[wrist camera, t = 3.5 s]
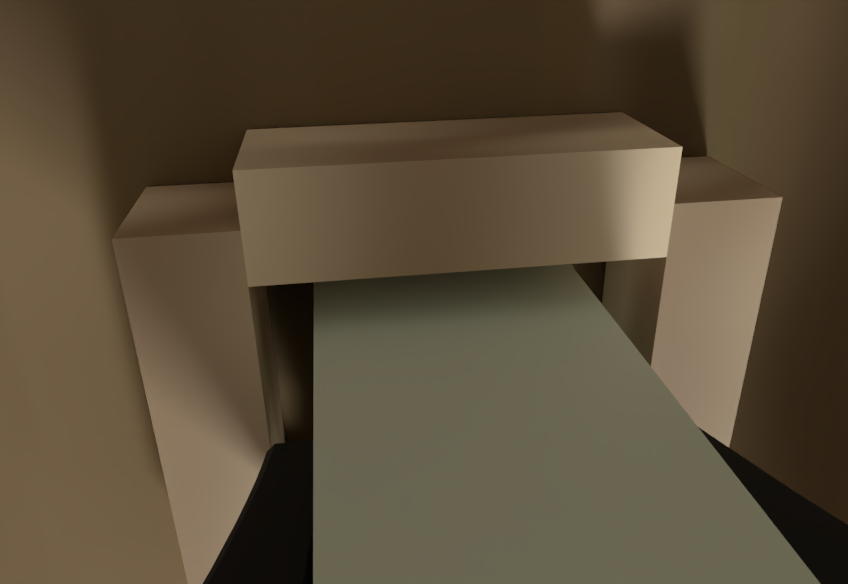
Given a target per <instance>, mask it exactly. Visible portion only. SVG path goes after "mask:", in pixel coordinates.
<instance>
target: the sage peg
mask: <svg viewBox="0 0 848 584" xmlns="http://www.w3.org/2000/svg"><path fill="white" fill-rule="evenodd" d="M313 584H820V582H819V581H818V580H817V579H816V577H815V576H814V575H813V574H812V572H811V571H810V570H809V568H808V567H807V566H806V565H805V563H804V562H803V561H802V559H801V558H800V557H799V556H798V554H797V553H796V552H795V550H794V549H793V548H792V547H791V545H790V544H789V543H788V542H787V540H786V539H785V538H784V536H783V535H782V534H781V533H780V531H779V530H778V529H777V527H776V526H775V525H774V524H773V522H772V521H771V520H770V519H769V517H768V516H767V515H766V513H765V512H764V511H763V510H762V508H761V507H760V506H759V504H758V503H757V502H756V501H755V499H754V498H753V497H752V495H751V494H750V493H749V492H748V490H747V489H746V488H745V487H744V485H743V484H742V483H741V481H740V480H739V479H738V478H737V476H736V475H735V474H734V472H733V471H732V470H731V469H730V467H729V466H728V465H727V464H726V462H725V461H724V460H723V458H722V457H721V456H720V455H719V453H718V452H717V451H716V449H715V448H714V447H713V446H712V444H711V443H710V442H709V440H708V439H707V438H706V437H705V435H704V434H703V433H702V432H701V430H700V429H699V428H698V426H697V425H696V424H695V423H694V421H693V420H692V419H691V417H690V416H689V415H688V414H687V412H686V411H685V410H684V409H683V407H682V406H681V405H680V403H679V402H678V401H677V400H676V398H675V397H674V396H673V394H672V393H671V392H670V391H669V389H668V388H667V387H666V385H665V384H664V383H663V382H662V380H661V379H660V378H659V377H658V375H657V374H656V373H655V371H654V370H653V369H652V368H651V366H650V365H649V364H648V362H647V361H646V360H645V359H644V357H643V356H642V355H641V354H640V352H639V351H638V350H637V348H636V347H635V346H634V345H633V343H632V342H631V341H630V339H629V338H628V337H627V336H626V334H625V333H624V332H623V331H622V329H621V328H620V327H619V325H618V324H617V323H616V322H615V320H614V319H613V318H612V316H611V315H610V314H609V313H608V311H607V310H606V309H605V307H604V306H603V305H602V304H601V302H600V301H599V300H598V299H597V297H596V296H595V295H594V293H593V292H592V291H591V290H590V288H589V287H588V286H587V284H586V283H585V282H584V281H583V279H582V278H581V277H580V276H579V274H578V273H577V272H576V270H575V269H574V268H573V267H572V265H571V264H564V265H550V266H535V267H521V268H507V269H493V270H479V271H465V272H451V273H437V274H423V275H409V276H395V277H381V278H367V279H352V280H338V281H324V282H314V371H313Z"/></svg>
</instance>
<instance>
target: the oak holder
mask: <svg viewBox="0 0 848 584" xmlns="http://www.w3.org/2000/svg"><path fill="white" fill-rule="evenodd" d="M682 148H683V147H682V146H680V145H679V144H677V143H675V142H673V141H672V140H670V139H668V138H666V137H665V136H663V135H661V134H659V133H658V132H656V131H654V130H652V129H651V128H649V127H647V126H645V125H644V124H642V123H640V122H638V121H637V120H635V119H633V118H631V117H630V116H628V115H626V114H624V113H623V112H615V113H593V114H572V115H550V116H529V117H508V118H486V119H465V120H443V121H422V122H400V123H379V124H358V125H336V126H315V127H293V128H272V129H251V130H246V133H245V136H244V139H243V142H242V145H241V147H240V150H239V153H238V156H237V159H236V162H235V165H234V167H233V170H232V172H233V179H234V182H228V183H210V184H191V185H173V186H155V187H146V188H145V190H144V191H143V192H142V194H141V195H140V197H139V198H138V200H137V201H136V203H135V204H134V206H133V207H132V209H131V210H130V212H129V213H128V215H127V216H126V218H125V219H124V221H123V222H122V224H121V225H120V227H119V228H118V230H117V231H116V233H115V234H114V236H113V237H112V239H111V240H112V245H113V249H114V254H115V258H116V263H117V267H118V272H119V276H120V281H121V285H122V290H123V294H124V299H125V303H126V308H127V312H128V317H129V321H130V326H131V330H132V335H133V339H134V344H135V348H136V353H137V357H138V362H139V366H140V371H141V375H142V380H143V384H144V389H145V393H146V398H147V402H148V407H149V411H150V416H151V420H152V425H153V429H154V434H155V438H156V443H157V447H158V452H159V456H160V461H161V465H162V470H163V474H164V479H165V483H166V488H167V492H168V497H169V501H170V506H171V510H172V515H173V519H174V524H175V528H176V533H177V537H178V542H179V546H180V551H181V555H182V560H183V564H184V569H185V573H186V577H187V582H188V584H203V582H204V580H205V579H206V577H207V575H208V573H209V572H210V570H211V568H212V566H213V564H214V563H215V561H216V559H217V557H218V555H219V553H220V551H221V550H222V548H223V546H224V544H225V542H226V540H227V538H228V537H229V535H230V533H231V531H232V529H233V527H234V525H235V523H236V521H237V519H238V517H239V515H240V513H241V511H242V509H243V507H244V505H245V503H246V501H247V499H248V497H249V494H250V492H251V490H252V488H253V486H254V483H255V481H256V479H257V476H258V474H259V471H260V469H261V466H262V464H263V461H264V458H265V455H266V452H267V451H268V450H269V449H270V448H271V447H272V446H273V445H274V444H277V443H286V442H285V434H284V426H283V418H282V410H281V402H280V394H279V386H278V378H277V370H276V362H275V354H274V345H273V337H272V329H271V321H270V313H269V305H268V297H267V289H266V286H268V285H282V284H296V283H310V282H324V281H338V280H352V279H367V278H381V277H395V276H409V275H423V274H437V273H451V272H465V271H479V270H493V269H507V268H521V267H535V266H550V265H564V264H578V263H592V262H606V269H605V279H604V288H603V298H602V305H603V306H604V307H605V309H606V310H607V311H608V313H609V314H610V315H611V316H612V318H613V319H614V320H615V322H616V323H617V324H618V325H619V327H620V328H621V329H622V331H623V332H624V333H625V334H626V336H627V337H628V338H629V339H630V341H631V342H632V343H633V345H634V346H635V347H636V348H637V350H638V351H639V352H640V354H641V355H642V356H643V357H644V359H645V360H646V361H647V362H648V364H649V365H650V366H651V368H652V369H653V370H654V371H655V373H656V374H657V375H658V377H659V378H660V379H661V380H662V382H663V383H664V384H665V385H666V387H667V388H668V389H669V391H670V392H671V393H672V394H673V396H674V397H675V398H676V400H677V401H678V402H679V403H680V405H681V406H682V407H683V409H684V410H685V411H686V412H687V414H688V415H689V416H690V417H691V419H692V420H693V421H694V423H695V424H696V425H697V426H698V427H699V428H701V429H702V430H704V431H705V432H706V433H708V434H709V435H711V436H712V437H714V438H715V439H717V440H718V441H720V442H721V443H723V444H724V445H726V446H727V447H729V446H730V441H731V437H732V432H733V427H734V423H735V418H736V413H737V409H738V404H739V399H740V395H741V390H742V385H743V381H744V376H745V371H746V367H747V362H748V357H749V353H750V348H751V343H752V339H753V334H754V329H755V325H756V320H757V315H758V311H759V306H760V301H761V297H762V292H763V287H764V283H765V278H766V273H767V269H768V264H769V259H770V255H771V250H772V245H773V240H774V236H775V231H776V226H777V222H778V217H779V212H780V208H781V203H782V198H783V197H782V196H780V195H778V194H776V193H774V192H773V191H771V190H769V189H767V188H765V187H764V186H762V185H760V184H758V183H756V182H755V181H753V180H751V179H749V178H747V177H746V176H744V175H742V174H740V173H738V172H737V171H735V170H733V169H731V168H729V167H728V166H726V165H724V164H722V163H720V162H719V161H717V160H715V159H713V158H711V157H710V156H703V157H685V158H681V155H682Z"/></svg>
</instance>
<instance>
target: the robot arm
mask: <svg viewBox="0 0 848 584" xmlns="http://www.w3.org/2000/svg"><path fill="white" fill-rule="evenodd" d="M698 428H699V427H698ZM699 429H700V430H701V432H702V433H703V434H704V435H705V437H706V438H707V439H708V440H709V442H710V443H711V444H712V446H713V447H714V448H715V449H716V451H717V452H718V453H719V455H720V456H721V457H722V458H723V460H724V461H725V462H726V464H727V465H728V466H729V467H730V469H731V470H732V471H733V472H734V474H735V475H736V476H737V478H738V479H739V480H740V481H741V483H742V484H743V485H744V487H745V488H746V489H747V490H748V492H749V493H750V494H751V495H752V497H753V498H754V499H755V501H756V502H757V503H758V504H759V506H760V507H761V508H762V510H763V511H764V512H765V513H766V515H767V516H768V517H769V519H770V520H771V521H772V522H773V524H774V525H775V526H776V527H777V529H778V530H779V531H780V533H781V534H782V535H783V536H784V538H785V539H786V540H787V542H788V543H789V544H790V545H791V547H792V548H793V549H794V550H795V552H796V553H797V554H798V556H799V557H800V558H801V559H802V561H803V562H804V563H805V565H806V566H807V567H808V568H809V570H810V571H811V572H812V574H813V575H814V576H815V577H816V579H817V580H818V581H819V582H820V584H848V525H847V524H845V523H843V522H842V521H840V520H839V519H837V518H835V517H834V516H832V515H831V514H829V513H827V512H826V511H824V510H823V509H821V508H819V507H818V506H816V505H815V504H813V503H812V502H810V501H808V500H807V499H805V498H804V497H802V496H801V495H799V494H798V493H796V492H795V491H793V490H791V489H790V488H788V487H787V486H785V485H784V484H782V483H781V482H779V481H778V480H776V479H775V478H773V477H772V476H770V475H769V474H767V473H766V472H764V471H763V470H761V469H760V468H758V467H757V466H755V465H754V464H752V463H751V462H749V461H748V460H746V459H745V458H743V457H742V456H740V455H739V454H738V453H736V452H735V451H733V450H732V449H730V448H729V447H727V446H726V445H724V444H723V443H721V442H720V441H718V440H717V439H715V438H714V437H712V436H711V435H709V434H708V433H706V432H705V431H704V430H702V429H701V428H699ZM203 584H313V440H308V441H298V442H287V443H277V444H274V445H273V446H272V447H271V448H270V449H269V450H268V451H267V452H266V455H265V458H264V461H263V464H262V466H261V469H260V471H259V474H258V476H257V479H256V481H255V483H254V486H253V488H252V490H251V492H250V494H249V497H248V499H247V501H246V503H245V505H244V507H243V509H242V511H241V513H240V515H239V517H238V519H237V521H236V523H235V525H234V527H233V529H232V531H231V533H230V535H229V537H228V538H227V540H226V542H225V544H224V546H223V548H222V550H221V551H220V553H219V555H218V557H217V559H216V561H215V563H214V564H213V566H212V568H211V570H210V572H209V573H208V575H207V577H206V579H205V580H204V582H203Z"/></svg>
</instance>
